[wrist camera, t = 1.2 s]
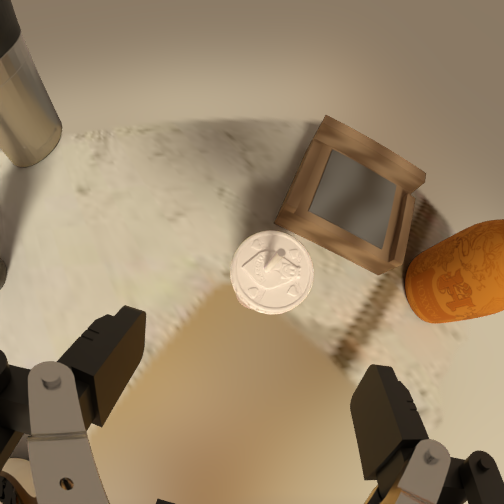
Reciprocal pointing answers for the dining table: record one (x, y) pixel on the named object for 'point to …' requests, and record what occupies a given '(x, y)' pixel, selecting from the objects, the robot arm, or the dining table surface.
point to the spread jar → (17, 483)
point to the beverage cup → (2, 273)
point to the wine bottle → (459, 276)
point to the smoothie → (271, 272)
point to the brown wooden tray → (353, 198)
